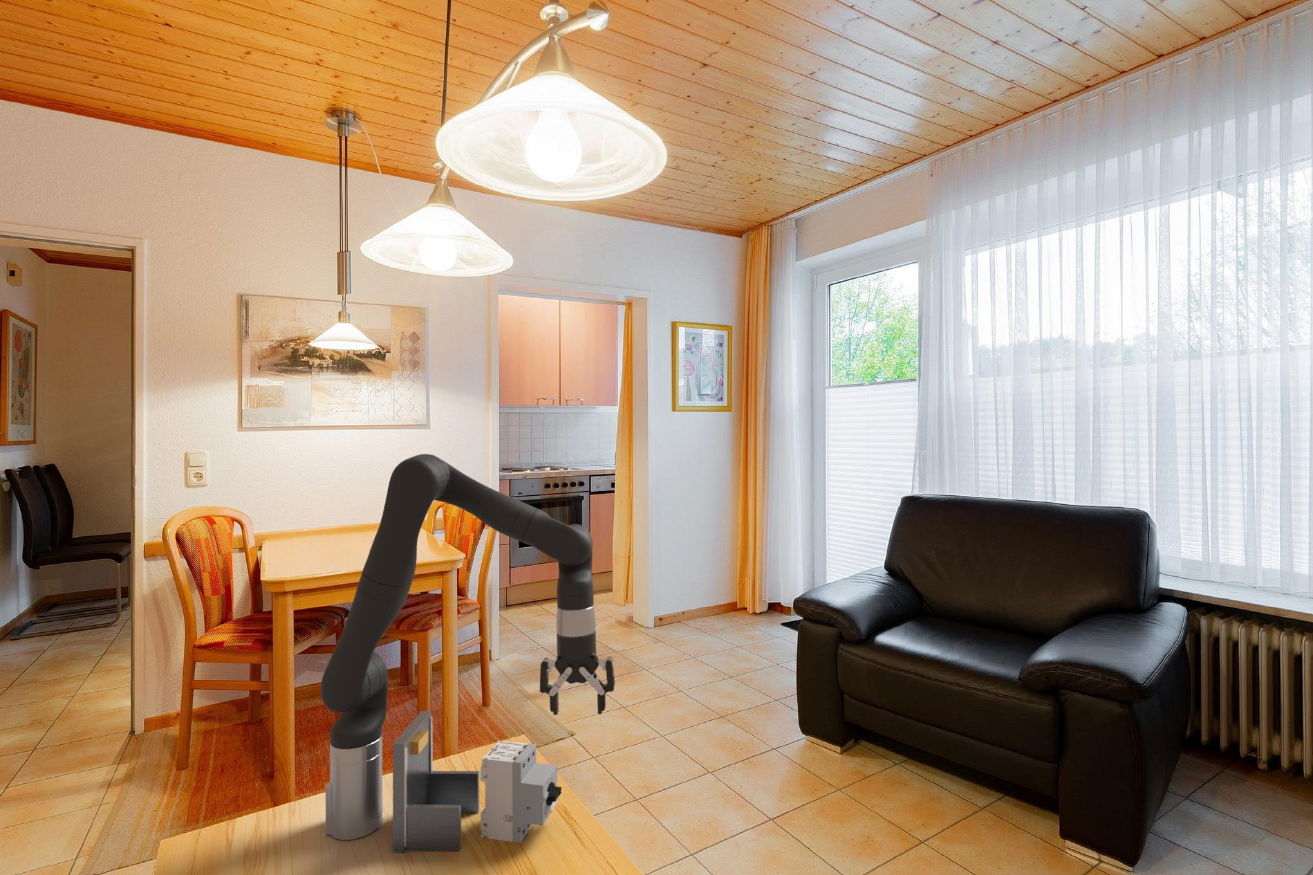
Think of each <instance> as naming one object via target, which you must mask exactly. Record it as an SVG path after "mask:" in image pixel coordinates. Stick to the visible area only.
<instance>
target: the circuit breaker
mask: <svg viewBox="0 0 1313 875" xmlns="http://www.w3.org/2000/svg"><path fill="white" fill-rule="evenodd" d="M481 761H482V762H481V766H480V782H484V798H485V799H484V809H483V810H482V811H481V812H480V830H481V835H480V838H484V837H485V838H486V839H489V840H495V841H496V840H497V841H504V842H505V841H506V842H511V843H522V842H523V840H524V839H525V836H526V835H527V834H528V832H529V831H530V829H531V828H532V827H533V825H535V826H544V825H545V823H546V822H547V820H548V818H549V817H550V815H551V813H552V812H553V810H554V808H555V807H556V805H557V804H558V798H559V796H561V794H562V786H558V765H556V764H550V763H540V762H537V744H536V743H526V742H519V741H518V742H517V741H508V740H504V741H501V740H498V741H497V742H496V743H495V745H493V746H492V747H491V750H489V751H488V752H487V753H486V754H485V755H484V756H483V757H482V758H481Z"/></svg>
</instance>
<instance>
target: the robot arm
mask: <svg viewBox="0 0 1313 875" xmlns="http://www.w3.org/2000/svg"><path fill="white" fill-rule="evenodd" d="M390 475H391V476H390V478H389V482H388V487H387V491H386V495H385V502H384V506H383V511H382V516H381V519H380V522H379V526H378V528H377V531H376V534H375V536H374V538H373V540H372V544H371V547H370V549H369V552H368V554H367V557H366V560H365V563H364V566H363V568H362V572H361V574H360V578H359V581H358V584H357V587H356V590H355V594H354V596H353V601H352V603H351V606H350V609H349V611H348V615H347V617H346V620H345V623H344V626H343V629H342V631H341V635H340V638H339V639H338V642H337V644H336V646H335V648H334V650H333V652H332V655H331V656H330V659H329V662H328V663H327V664H326V665H327V666H326V667H325V670H324V673H323V675H322V678H321V682H320V696H321V699H322V702H323V704H324V706H325V707H326V708H327V709H328V710H330V711H331V712H334V713H338V714H339V713H340V714H339V715H340V716H339V717H338V718H337V720H336V721H335V722H334V723H333V724H332V727H331V729H330V733H329V743H330V746H329V749H330V750H329V752H330V754H329V756H330V759H329V763H330V764H329V766H330V767H329V771H330V774H329V778H330V779H329V781H328V782H327V783H326V784H325V836H332V837H333V839H337V840H341V841H349V840H356V839H359V838H363V837H365V836H368V835H370V834H372V833H373V832H375V831H376V830H378V828H379V827H380V826H381V825H382V823H383V726H384V723H385V721H386V718H387V712H388V696H389V695H388V692H389V689H388V688H389V675H388V668H387V666H386V662H385V661H384V659H383V658H382V656H380V655H379V654H378V653H377V652H375V650H376V649H377V648H376V647H377V646H378V644H379V642H380V641H381V639H382V638H383V636H384V635H385V633H387V631H388V629H389V628H390V627H391V625H392V624H393V623H394V621H395V620H396V619H397V617H398V615H399V613H400V612H401V611H402V609H403V607H404V605H405V603H406V600H407V598H408V596H409V592H410V591H411V588H412V584H413V581H414V578H415V574H416V569H417V561H418V560H417V558H418V556H417V555H418V540H419V539H418V538H419V536H420V532H421V528H422V526H423V524H424V522H425V519H426V516H427V514H428V513H429V512H428V511H429V510H430V507H431V506H432V504H433V502H434V501H437V502H442V503H446V504H449V505H452V506H455V507H457V508H460V509H462V510H463V511H466V512H468V513H469V514H471V515H473V516H474V517H476V518H477V519H478V520H480V521H481V522H483V523H484V524H485V525H487V526H488V527H490V528H491V529H493V530H495V531H496V532H498V533H500V534H502V535H505V536H507V537H509V538H511V539H514V540H516V541H518V542H521V543H522V544H525V545H529V546H531V547H533V548H535V549H536V550H538V551H540V552H542V553H543V554H545V555H546V556H548V557H550V558H552V559H554V560H556V561H558V562H557V564H558V577H557V578H558V579H557V585H556V603H557V604H556V605H557V606H556V611H557V612H556V621H555V622H556V626H555V627H556V660H554V659H549V658H548V657H545V658H543V659H542V661H541V662H540V672H539V674H540V677H539V692H540V693H542V694H547V695H548V697H549V710H550V712H551V713H552V714H553V716H558V714H559V710H560V709H559V705H560V703H559V690H560V689H561V687H562V686H563V685H564V683H565V682H567V683H568V684H575V683H578V684H586V683H587V682H588V684H589V685H590V687H592V688H593V689H594V690H595V691H596V692H597V715H602V713H603V712H604V711H605V709H606V706H607V705H606V704H607V703H606V701H607V700H606V696H607V695H606V694H607V693H609V692H611V693H612V692H614V690H615V684H616V682H615V681H616V680H615V669H614V660H613V657H612V656H607V658H599V657H598V656H597V635H596V634H597V633H596V627H597V621H596V613H595V605H594V584H593V575H592V574H593V538H592V537H593V536H592V534H591V532H590V531H589V530H588V528H586V527H585V526H583V525H582V524H577V523H574V524H566V523H564V522H561V521H559V520H557V519H556V518H555V519H554V518H553V517H551V516H550V515H549V514H548V513H547V512H545V511H544V510H541V509H539V508H537V507H534V506H532V505H530V504H528V503H526V502H523V501H521V500H518V499H516V498H513V497H511V496H509V495H507V494H504V493H502V492H501V491H497V490H496V489H494V488H491V487H489V486H488V485H485V484H483V483H481V482H479V481H477V480H475V479H473V478H472V477H471V476H469V475H467V474H465V473H463V472H462V471H460V470H458V469H457V468H456V467H454V466H452V465H451V464H449V463H448V462H446V461H445V460H443V459H441V458H440V457H438V456H436V455H434V454H429V453H422V454H421V453H420V454H417V455H414V456H411V457H408V458H406V459H404V460H402V461H400V463H399V464H397V465H396V467H395V468H394V470H392V472H391V474H390ZM599 666H600V667H601V669H602V671H604V672H606V683H604V682H603V680H601V678H600V676H599V674H598V673H597V672H596V671H597V669H598V668H599ZM553 667H554V668H555V669H556V671H557V672H558V673H559V676H558V677H557V678H556V679H555V681H554V683H553V684H549V675H550V673H551V672H552V670H553Z"/></svg>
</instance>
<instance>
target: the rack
mask: <svg viewBox="0 0 1313 875" xmlns="http://www.w3.org/2000/svg"><path fill="white" fill-rule="evenodd" d="M433 754H434V753H433V716H432V710H421V711H420V712H419V713H418V714H417V715H416V717H414V719H413V720H412V721H411V723H410V724H409V725H408V726H407V727H406V728H405V729H404V730H403V731H402V733H401V734H400V735H399V736H398V737H397V739H396V740H395V741H394V742H393V743H392V854H405V852H460V850H461V849H462V814H478V813H479V812H480V770H433V768H434V767H433V766H434V765H433V759H434V758H433Z"/></svg>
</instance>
